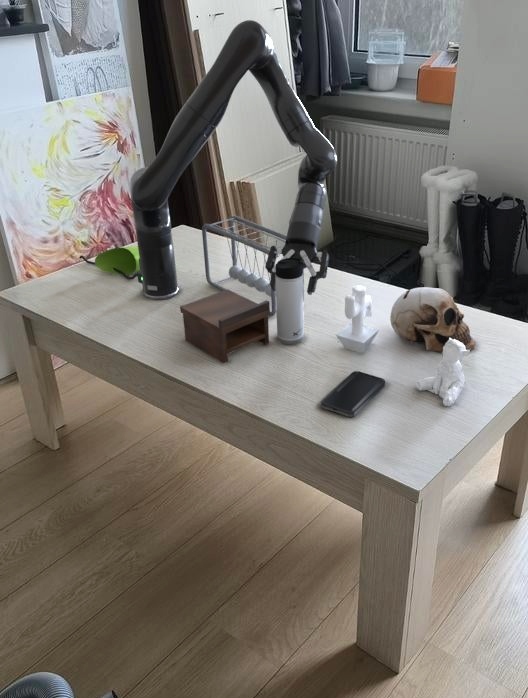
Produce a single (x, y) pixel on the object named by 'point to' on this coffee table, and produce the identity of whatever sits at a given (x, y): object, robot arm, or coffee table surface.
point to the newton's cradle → (235, 270)
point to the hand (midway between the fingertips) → (291, 291)
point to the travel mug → (289, 300)
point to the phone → (353, 393)
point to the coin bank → (429, 319)
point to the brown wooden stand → (225, 323)
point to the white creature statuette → (447, 373)
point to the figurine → (357, 321)
